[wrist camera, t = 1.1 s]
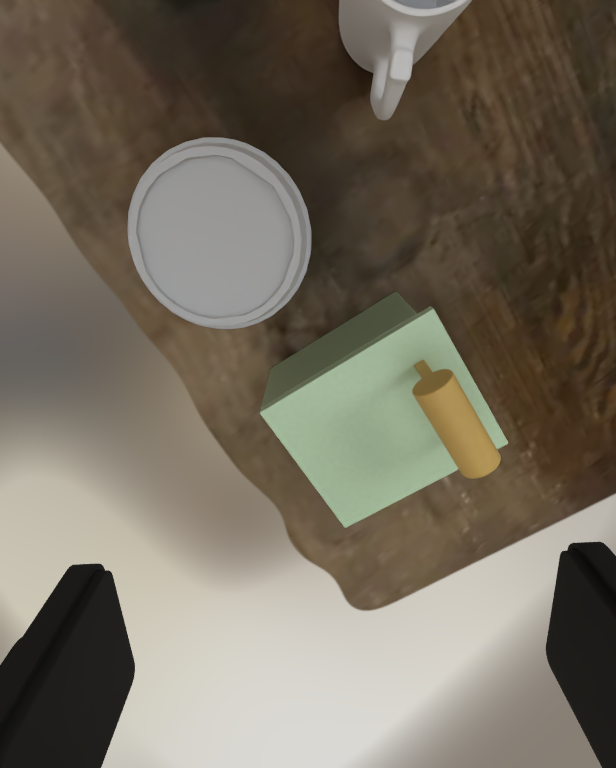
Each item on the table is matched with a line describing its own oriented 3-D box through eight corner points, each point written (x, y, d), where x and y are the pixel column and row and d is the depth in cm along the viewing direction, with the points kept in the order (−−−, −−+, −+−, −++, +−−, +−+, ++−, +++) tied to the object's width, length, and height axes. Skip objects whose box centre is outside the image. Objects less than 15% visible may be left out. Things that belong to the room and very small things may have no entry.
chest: (396, 290, 37) (417, 313, 29) (458, 399, 40) (491, 444, 32) (270, 368, 39) (260, 407, 32) (338, 465, 42) (344, 520, 35)
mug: (343, -58, 29) (363, -219, 18) (452, -40, 29) (539, -188, 18) (320, 128, 33) (323, 90, 21) (417, 142, 33) (471, 113, 22)
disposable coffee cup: (334, 256, 36) (344, 281, 24) (224, 315, 37) (186, 364, 26) (270, 128, 33) (249, 91, 21) (154, 199, 34) (78, 198, 23)
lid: (430, 305, 29) (457, 329, 24) (504, 437, 32) (543, 486, 27) (260, 407, 32) (249, 451, 26) (344, 521, 35) (350, 580, 29)
